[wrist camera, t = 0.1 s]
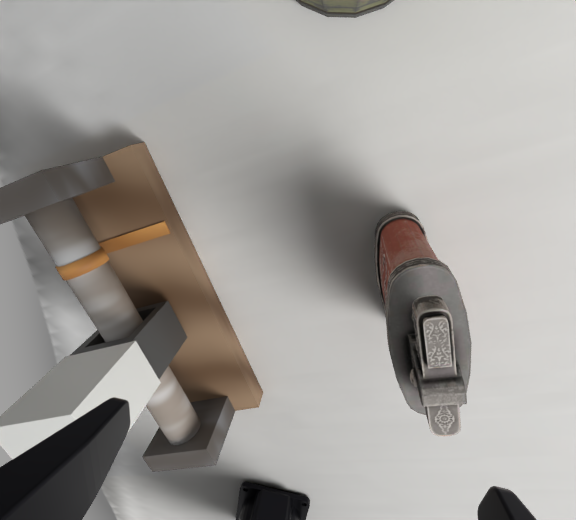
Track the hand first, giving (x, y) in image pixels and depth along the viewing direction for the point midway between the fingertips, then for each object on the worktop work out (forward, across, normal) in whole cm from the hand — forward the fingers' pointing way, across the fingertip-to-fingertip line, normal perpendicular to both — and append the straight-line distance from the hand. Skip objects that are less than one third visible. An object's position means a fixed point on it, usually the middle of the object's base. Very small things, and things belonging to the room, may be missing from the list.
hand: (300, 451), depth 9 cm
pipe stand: (+15, +11, +7) cm, 20 cm away
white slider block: (+13, +11, +8) cm, 18 cm away
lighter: (+15, -5, +1) cm, 16 cm away
